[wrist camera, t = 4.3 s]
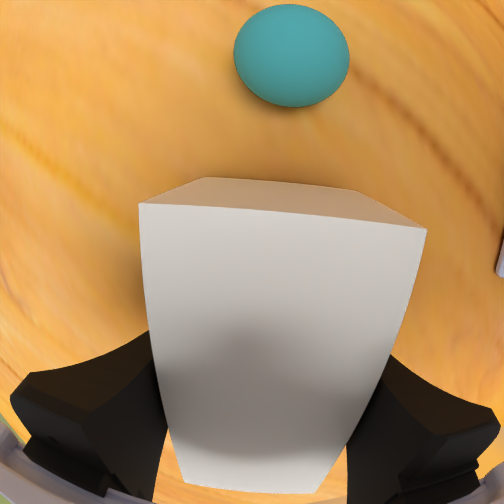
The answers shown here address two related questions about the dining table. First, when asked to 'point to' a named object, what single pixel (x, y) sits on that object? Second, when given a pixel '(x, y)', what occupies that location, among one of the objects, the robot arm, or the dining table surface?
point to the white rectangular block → (270, 323)
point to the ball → (291, 55)
